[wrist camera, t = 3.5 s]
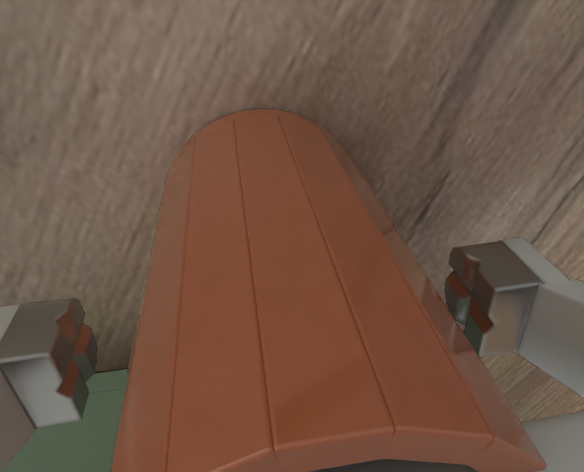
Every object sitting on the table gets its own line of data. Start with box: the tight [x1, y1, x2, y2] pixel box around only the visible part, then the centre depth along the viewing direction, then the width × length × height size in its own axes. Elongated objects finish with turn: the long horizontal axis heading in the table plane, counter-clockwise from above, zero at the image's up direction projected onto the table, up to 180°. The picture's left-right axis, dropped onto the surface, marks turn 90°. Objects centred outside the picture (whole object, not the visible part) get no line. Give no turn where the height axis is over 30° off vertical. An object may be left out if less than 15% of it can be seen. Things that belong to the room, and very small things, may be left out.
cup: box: [108, 109, 547, 472], centre depth 9 cm, size 5×5×9 cm
